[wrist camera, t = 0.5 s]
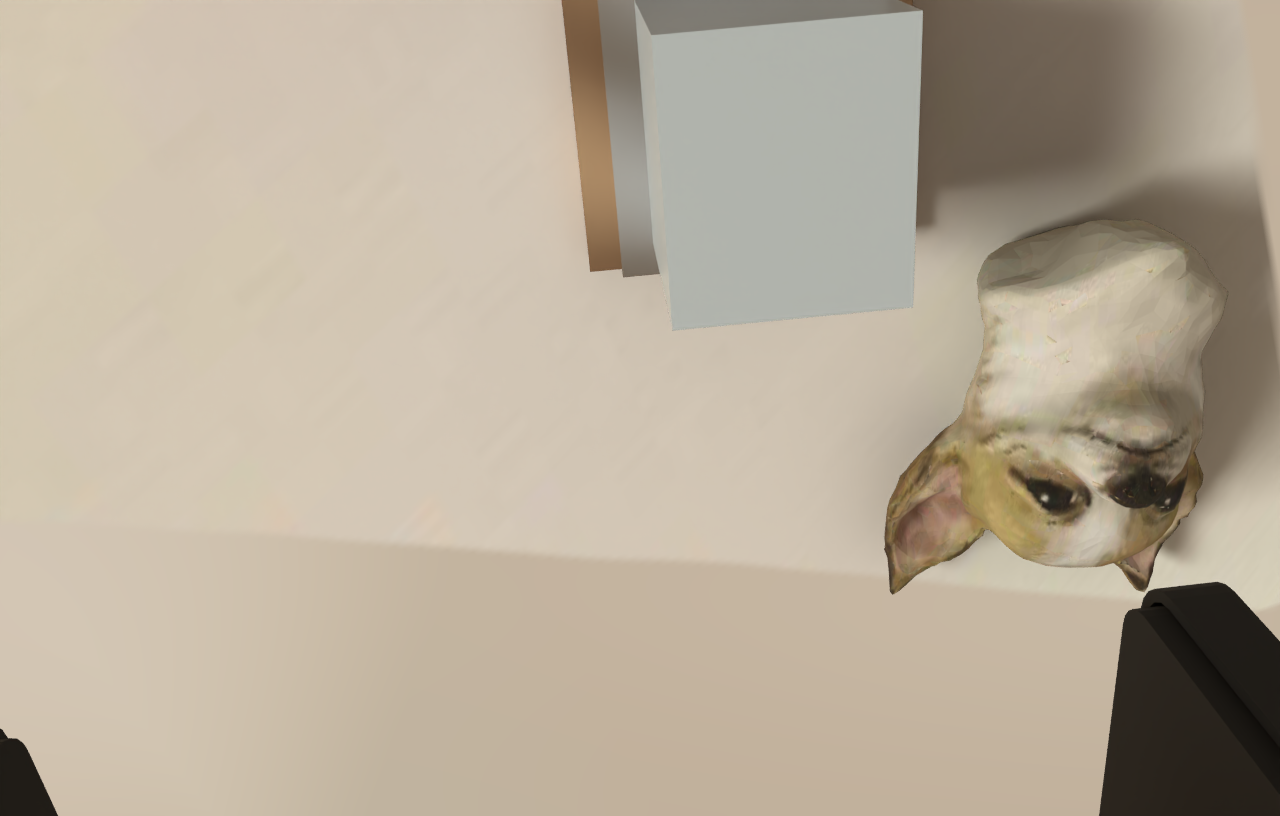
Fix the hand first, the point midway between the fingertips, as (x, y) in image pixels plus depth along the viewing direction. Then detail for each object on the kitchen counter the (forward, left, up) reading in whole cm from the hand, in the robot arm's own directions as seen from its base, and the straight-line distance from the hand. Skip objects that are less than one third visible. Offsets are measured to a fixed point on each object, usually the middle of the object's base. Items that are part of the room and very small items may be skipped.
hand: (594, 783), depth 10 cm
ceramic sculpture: (+11, +15, -27) cm, 33 cm away
